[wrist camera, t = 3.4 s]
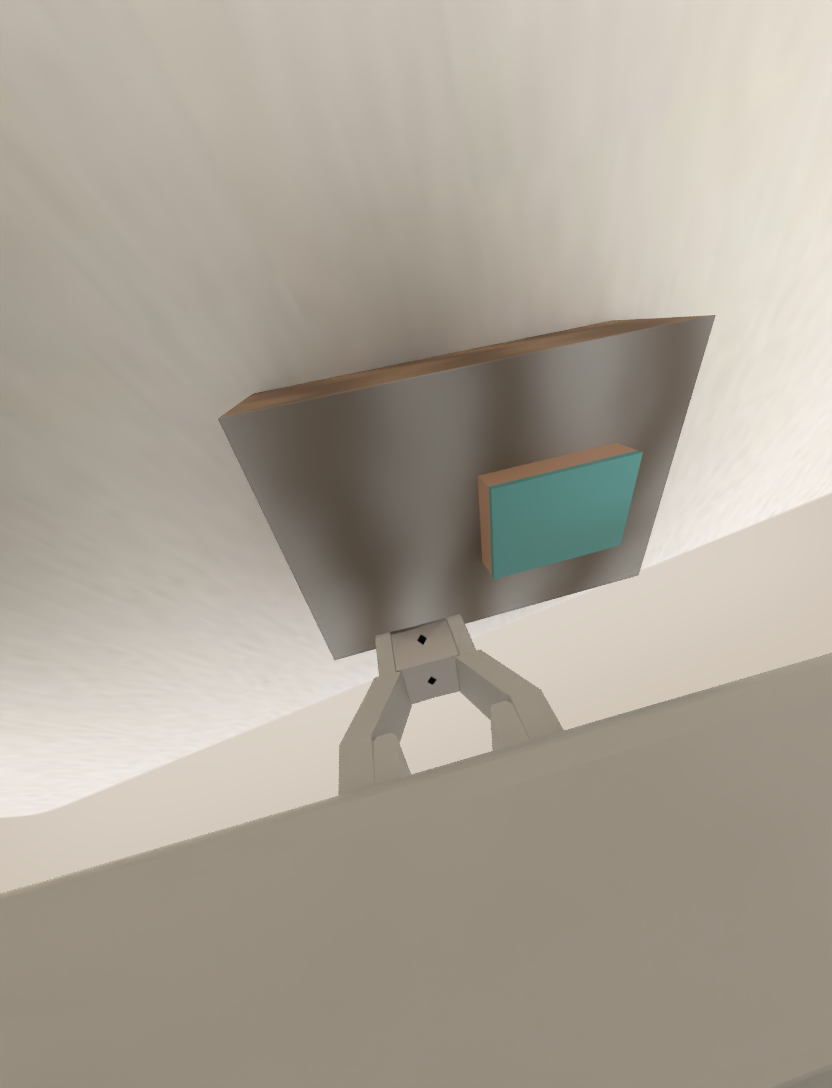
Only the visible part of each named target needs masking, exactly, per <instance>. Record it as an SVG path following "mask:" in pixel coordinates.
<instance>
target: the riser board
mask: <svg viewBox="0 0 832 1088" xmlns="http://www.w3.org/2000/svg"><path fill="white" fill-rule="evenodd" d="M714 318H715V315H711V316H692V317H673V318H655V319H636V320H617V321H609V322H604V323H599V324H594V325H589V326H584V327H579V328H574V329H569V330H564V331H560V332H555V333H550V334H545V335H540V336H535V337H530V338H525V339H520V340H515V341H510V342H506V343H501V344H496V345H491V346H486V347H481V348H476V349H471V350H466V351H461V352H456V353H452V354H447V355H442V356H437V357H432V358H427V359H422V360H417V361H412V362H407V363H402V364H398V365H393V366H388V367H383V368H378V369H373V370H368V371H363V372H358V373H353V374H348V375H344V376H339V377H334V378H329V379H324V380H319V381H314V382H309V383H304V384H299V385H294V386H290V387H285V388H280V389H275V390H270V391H265V392H260V393H255V394H252V395H251V396H249V397H248V398H246V399H245V400H244V401H242V402H241V403H240V404H238V405H237V406H235V407H234V408H233V409H231V410H230V411H228V412H227V413H226V414H224V415H223V416H221V417H220V418H219V419H218V420H219V422H220V424H221V426H222V428H223V430H224V432H225V434H226V436H227V438H228V440H229V442H230V444H231V447H232V449H233V451H234V453H235V455H236V457H237V459H238V461H239V463H240V465H241V467H242V469H243V471H244V473H245V476H246V478H247V480H248V482H249V484H250V486H251V488H252V490H253V492H254V494H255V496H256V498H257V500H258V503H259V505H260V507H261V509H262V511H263V513H264V515H265V517H266V519H267V521H268V523H269V525H270V527H271V529H272V532H273V534H274V536H275V538H276V540H277V542H278V544H279V546H280V548H281V550H282V552H283V554H284V556H285V558H286V561H287V563H288V565H289V567H290V569H291V571H292V573H293V575H294V577H295V579H296V581H297V583H298V585H299V587H300V590H301V592H302V594H303V596H304V598H305V600H306V602H307V604H308V606H309V608H310V610H311V612H312V614H313V616H314V619H315V621H316V623H317V625H318V627H319V629H320V631H321V633H322V635H323V637H324V639H325V641H326V643H327V646H328V648H329V650H330V652H331V654H332V656H333V658H334V660H337V659H341V658H344V657H348V656H351V655H355V654H358V653H362V652H366V651H369V650H373V649H376V640H375V639H376V635H380V634H384V633H389V632H392V631H396V630H401V629H405V628H409V627H413V626H418V625H420V624H424V623H428V622H431V621H435V620H439V619H442V618H447V617H450V616H454V615H458V614H460V615H461V616H462V619H463V621H464V623H465V624H466V623H469V622H473V621H476V620H480V619H484V618H487V617H491V616H494V615H498V614H501V613H505V612H509V611H512V610H516V609H519V608H523V607H526V606H530V605H534V604H537V603H541V602H544V601H548V600H552V599H555V598H559V597H562V596H566V595H569V594H573V593H577V592H580V591H584V590H587V589H591V588H594V587H598V586H602V585H605V584H609V583H612V582H616V581H619V580H623V579H627V578H630V577H633V576H637V575H639V572H640V568H641V565H642V561H643V558H644V555H645V551H646V548H647V545H648V541H649V538H650V534H651V531H652V528H653V524H654V521H655V518H656V514H657V511H658V507H659V504H660V501H661V497H662V494H663V491H664V487H665V484H666V480H667V477H668V474H669V470H670V467H671V464H672V460H673V457H674V453H675V450H676V447H677V443H678V440H679V437H680V433H681V430H682V426H683V423H684V420H685V416H686V413H687V410H688V406H689V403H690V399H691V396H692V393H693V389H694V386H695V382H696V379H697V376H698V372H699V369H700V366H701V362H702V359H703V355H704V352H705V349H706V345H707V342H708V339H709V335H710V332H711V328H712V325H713V322H714ZM613 443H619V444H622V445H625V446H627V447H630V448H633V449H635V450H638V451H641V452H643V454H642V458H641V463H640V467H639V471H638V475H637V479H636V483H635V488H634V492H633V496H632V500H631V504H630V508H629V513H628V517H627V521H626V525H625V529H624V533H623V538H622V542H621V545H620V546H616V547H612V548H609V549H605V550H601V551H598V552H594V553H590V554H586V555H583V556H579V557H575V558H572V559H568V560H564V561H560V562H557V563H553V564H549V565H546V566H542V567H538V568H534V569H531V570H527V571H523V572H520V573H516V574H512V575H509V576H505V577H501V578H497V579H494V578H493V577H492V575H491V574H490V572H489V571H488V569H487V568H486V566H485V565H484V563H483V562H482V547H481V529H480V511H479V493H478V476H479V475H483V474H487V473H492V472H496V471H500V470H504V469H508V468H512V467H517V466H521V465H525V464H529V463H533V462H537V461H542V460H546V459H550V458H554V457H558V456H563V455H567V454H571V453H575V452H579V451H583V450H588V449H592V448H596V447H600V446H604V445H608V444H613Z"/></svg>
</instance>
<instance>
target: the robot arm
mask: <svg viewBox="0 0 832 1088" xmlns="http://www.w3.org/2000/svg"><path fill="white" fill-rule="evenodd" d="M375 640H376V650H377V660H378V669H379V677H376V678H375V679H374V681H373V683H372V684H371V686H370V688H369V690H368V692H367V694H366V696H365V698H364V700H363V702H362V703H361V706H360V707H359V709H358V711H357V713H356V715H355V717H354V719H353V721H352V723H351V724H350V727H349V728H348V730H347V732H346V734H345V736H344V738H343V740H342V741H341V743H340V746H339V796H336V797H333V798H329V799H326V800H322V801H319V802H315V803H312V804H309V805H305V806H302V807H298V808H295V809H292V810H288V811H284V812H281V813H277V814H274V815H271V816H267V817H264V818H260V819H257V820H253V821H250V822H246V823H243V824H240V825H236V826H233V827H229V828H226V829H223V830H219V831H215V832H212V833H208V834H205V835H201V836H198V837H195V838H191V839H188V840H184V841H181V842H177V843H174V844H170V845H167V846H164V847H160V848H157V849H154V850H150V851H146V852H143V853H140V854H136V855H133V856H129V857H126V858H122V859H119V860H115V861H112V862H108V863H105V864H101V865H98V866H94V867H91V868H87V869H84V870H80V871H77V872H73V873H70V874H66V875H63V876H60V877H56V878H53V879H49V880H46V881H43V882H39V883H35V884H32V885H28V886H25V887H22V888H18V889H14V890H11V891H7V892H4V893H0V1088H832V653H830V654H826V655H823V656H820V657H816V658H813V659H809V660H806V661H802V662H799V663H795V664H792V665H789V666H785V667H782V668H778V669H775V670H771V671H768V672H764V673H761V674H758V675H754V676H751V677H747V678H744V679H740V680H737V681H734V682H730V683H726V684H723V685H719V686H716V687H713V688H710V689H706V690H702V691H699V692H695V693H692V694H689V695H685V696H682V697H678V698H675V699H671V700H668V701H665V702H661V703H657V704H654V705H651V706H647V707H644V708H640V709H637V710H633V711H630V712H626V713H623V714H619V715H617V716H613V717H609V718H606V719H602V720H599V721H595V722H592V723H588V724H585V725H582V726H578V727H575V728H571V729H568V730H563V728H562V726H561V725H560V723H559V721H558V719H557V718H556V716H555V714H554V712H553V710H552V709H551V707H550V705H549V703H548V701H547V700H546V698H545V696H544V694H543V692H542V691H541V689H539V688H537V687H536V686H534V685H533V684H531V683H530V682H528V681H527V680H525V679H524V678H522V677H521V676H519V675H518V674H516V673H515V672H513V671H512V670H510V669H508V668H507V667H505V666H504V665H502V664H501V663H500V662H498V661H497V660H495V659H494V658H492V657H491V656H489V655H488V654H486V653H484V652H483V651H482V650H478V651H476V649H475V647H474V645H473V642H472V640H471V638H470V635H469V633H468V630H467V628H466V626H465V623H464V621H463V619H462V616H461V615H460V614H458V615H454V616H450V617H447V618H442V619H439V620H435V621H431V622H428V623H424V624H420V625H418V626H413V627H409V628H405V629H401V630H396V631H392V632H389V633H384V634H380V635H376V639H375ZM458 691H460V692H461V693H462V694H463V695H464V696H465V697H466V698H467V699H469V701H471V702H472V703H473V704H474V705H475V706H476V707H477V708H478V709H479V710H480V711H481V712H482V713H483V714H484V715H486V716H487V717H488V718H489V719H490V720H491V731H492V747H493V751H492V752H488V753H485V754H481V755H478V756H474V757H471V758H467V759H464V760H460V761H457V762H453V763H450V764H447V765H443V766H440V767H436V768H433V769H429V770H426V771H422V772H419V773H415V774H413V775H411V773H410V770H409V768H408V765H407V762H406V760H405V757H404V755H403V752H402V749H401V747H400V744H399V743H400V740H401V737H402V734H403V731H404V728H405V725H406V722H407V719H408V716H409V712H410V709H411V707H412V706H411V704H414V703H418V702H420V701H424V700H427V699H430V698H434V697H438V696H442V695H445V694H450V693H454V692H458Z"/></svg>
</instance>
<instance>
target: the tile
mask: <svg viewBox="0 0 832 1088" xmlns="http://www.w3.org/2000/svg"><path fill="white" fill-rule="evenodd" d="M642 454H643V452H641V451H638V450H635V449H633V448H630V447H627V446H625V445H622V444H619V443H613V444H608V445H604V446H600V447H596V448H592V449H588V450H583V451H579V452H575V453H571V454H567V455H563V456H558V457H554V458H550V459H546V460H542V461H537V462H533V463H529V464H525V465H521V466H517V467H512V468H508V469H504V470H500V471H496V472H492V473H487V474H483V475H479V476H478V493H479V511H480V529H481V547H482V562H483V563H484V565H485V566H486V568H487V569H488V571H489V572H490V574H491V575H492V577H493V578H494V579H497V578H501V577H505V576H509V575H512V574H516V573H520V572H523V571H527V570H531V569H534V568H538V567H542V566H546V565H549V564H553V563H557V562H560V561H564V560H568V559H572V558H575V557H579V556H583V555H586V554H590V553H594V552H598V551H601V550H605V549H609V548H612V547H616V546H620V545H621V542H622V538H623V533H624V529H625V525H626V521H627V517H628V513H629V508H630V504H631V500H632V496H633V492H634V488H635V483H636V479H637V475H638V471H639V467H640V463H641V458H642Z"/></svg>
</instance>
